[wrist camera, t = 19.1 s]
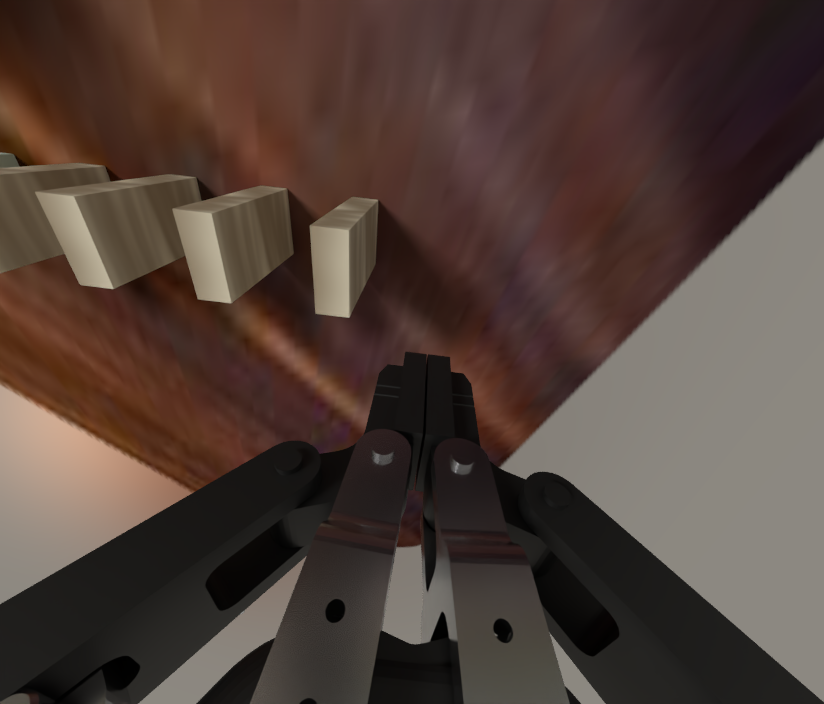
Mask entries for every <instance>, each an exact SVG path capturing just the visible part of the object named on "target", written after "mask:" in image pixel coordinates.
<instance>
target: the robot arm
mask: <svg viewBox="0 0 824 704" xmlns="http://www.w3.org/2000/svg"><path fill="white" fill-rule="evenodd" d="M426 357H427V355H426V354H420V353H412V352H405V358H404V365H403V366H397V365H389V364H388V365H387V366H386V367H385V368H384V369H383V370H382V371H381V372H380V373H379V377H378V381H377V386H376V389H375V394H374V397H373V401H372V405H371V410H370V414H369V418H368V422H367V426H366V430H365V433H364V435H363V436H362V437H361V438H360V439H359V440H358V441H357V443H356V444H354V445H353V446H351V447H349V448H347V449H344V450H340V451H336V452H329V453H323V454H319V452H318V451H317V449H316V448H315V447H313V446H312V445H310V444H309V443H306V442H302V441H288V442H283V443H280V444H278V445H276V446H274V447H272V448H270V449H268V450H267V451H265V452H263V453H261V454H260V455H258V456H256V457H254V458H253V459H251V460H249V461H248V462H246V463H244V464H242V465H241V466H239V467H237V468H235V469H234V470H232V471H230V472H229V473H227V474H225V475H223V476H222V477H220V478H218V479H216V480H215V481H213V482H211V483H209V484H208V485H206V486H204V487H203V488H201V489H199V490H197V491H196V492H194V493H192V494H190V495H189V496H187V497H185V498H183V499H182V500H180V501H178V502H177V503H175V504H173V505H171V506H170V507H168V508H166V509H165V510H163V511H161V512H159V513H158V514H156V515H154V516H152V517H151V518H149V519H147V520H145V521H144V522H142V523H140V524H139V525H137V526H135V527H133V528H132V529H130V530H128V531H126V532H125V533H123V534H121V535H119V536H118V537H116V538H114V539H112V540H111V541H109V542H107V543H106V544H104V545H102V546H100V547H99V548H97V549H95V550H94V551H92V552H90V553H88V554H87V555H85V556H83V557H81V558H80V559H78V560H76V561H74V562H73V563H71V564H69V565H67V566H66V567H64V568H62V569H61V570H59V571H57V572H55V573H54V574H52V575H50V576H49V577H47V578H45V579H43V580H42V581H40V582H38V583H36V584H35V585H33V586H31V587H30V588H28V589H26V590H24V591H22V592H21V593H19V594H17V595H16V596H14V597H12V598H10V599H9V600H7V601H5V602H4V603H2V604H0V704H138V703H139V702H140V701H141V700H143V699H144V698H145V697H146V696H147V695H148V694H149V693H151V692H152V691H153V690H154V689H155V688H156V687H157V686H159V685H160V684H161V683H162V682H163V681H164V680H165V679H167V678H168V677H169V676H170V675H171V674H172V673H173V672H175V671H176V670H177V669H178V668H179V667H180V666H181V665H182V664H184V663H185V662H186V661H187V660H188V659H189V658H190V657H192V656H193V655H194V654H195V653H196V652H197V651H198V650H199V649H201V648H202V647H203V646H204V645H205V644H206V643H208V642H209V641H210V640H211V639H212V638H213V637H214V636H215V635H217V634H218V633H219V632H220V631H221V630H222V629H224V628H225V627H226V626H227V625H228V624H229V623H230V622H232V621H233V620H234V619H235V618H236V617H237V616H238V615H240V614H241V613H242V612H243V611H244V610H245V609H246V608H247V607H248V606H250V605H251V604H252V603H253V602H254V601H256V599H258V598H259V597H260V596H261V595H262V594H263V593H265V592H266V591H267V590H268V589H269V588H270V587H271V586H273V585H274V584H275V583H276V582H277V581H278V580H279V579H280V578H282V577H283V576H284V575H285V574H286V573H287V572H289V571H290V570H291V569H292V568H293V567H294V566H295V565H297V564H298V563H299V562H300V561H301V560H302V559H303V558H305V556H307V557H306V559H305V562H304V565H303V567H302V570H301V573H300V575H299V578H298V580H297V583H296V585H295V588H294V590H293V593H292V596H291V598H290V601H289V603H288V606H287V609H286V612H285V614H284V616H283V619H282V622H281V624H280V627H279V629H278V632H277V635H276V637H275V638H274V639H272V640H270V641H268V642H266V643H264V644H263V645H261V646H259V647H258V648H256V649H255V650H253V651H252V652H251V653H249V654H248V655H247V656H245V657H244V658H243V659H242V660H241V661H239V662H238V663H237V664H236V665H234V666H233V667H232V668H231V669H230V670H229V671H228V672H227V673H226V674H225V675H224V676H223V677H222V678H221V679H220V680H219V681H218V682H217V683H216V684H215V685H214V686H213V687H212V688H211V689H210V690H209V691H208V692H207V694H205V696H203V697H202V699H201V700H200V701H199V702H198V703H197V704H581V703H580V702H579V701H578V700H577V699H576V697H575V696H574V695H573V694H572V693H571V692H570V691H569V690H568V689H567V688H566V687H565V685H564V682H563V679H562V675H561V671H560V668H559V665H558V661H557V658H556V654H555V651H554V647H553V644H552V640H551V637H550V633H551V635H552V636H553V637H554V639H555V640H556V641H557V642H558V644H559V645H560V646H561V647H562V649H563V650H564V651H565V653H566V654H567V655H568V656H569V657H570V659H571V660H572V661H573V663H574V664H575V665H576V667H577V668H578V669H579V670H580V672H581V673H582V674H583V675H584V677H585V678H586V679H587V680H588V682H589V683H590V684H591V686H592V687H593V688H594V689H595V691H596V692H597V693H598V694H599V696H600V697H601V698H602V700H603V701H604V702H605V703H606V704H824V702H823V701H822V700H820V699H819V698H818V697H817V696H816V695H815V694H813V693H812V692H811V691H810V690H809V689H808V688H806V687H805V686H804V685H803V684H802V683H801V682H799V681H798V680H797V679H796V678H795V677H794V676H792V674H790V673H789V672H788V671H787V670H786V669H785V668H784V667H782V666H781V665H780V664H779V663H778V662H777V661H775V660H774V659H773V658H772V657H771V656H770V655H768V654H767V653H766V652H765V651H764V650H762V648H760V647H759V646H758V645H757V644H756V643H755V642H754V641H752V640H751V639H750V638H749V637H748V636H747V635H745V634H744V633H743V632H742V631H741V630H740V629H738V628H737V627H736V626H735V625H734V624H733V623H732V622H730V621H729V620H728V619H727V618H726V617H725V616H724V615H722V614H721V613H720V612H719V611H718V610H717V609H716V608H714V607H713V606H712V605H711V604H710V603H709V602H707V601H706V600H705V599H704V598H703V597H701V596H700V595H699V594H698V593H697V592H696V591H695V590H694V589H692V588H691V587H690V586H689V585H688V584H687V583H686V582H684V581H683V580H682V579H681V578H680V577H678V576H677V575H676V574H675V573H674V572H673V571H672V570H670V569H669V568H668V567H667V566H666V565H665V564H664V563H662V562H661V561H660V560H659V559H658V558H657V557H656V556H654V555H653V554H652V553H651V552H650V551H649V550H647V549H646V548H645V547H644V546H643V545H642V544H641V543H639V542H638V541H637V540H636V539H635V538H634V537H632V536H631V535H630V534H629V533H628V532H627V531H626V530H624V529H623V528H622V527H621V526H620V525H619V524H618V523H616V522H615V521H614V520H613V519H612V518H611V517H609V516H608V515H607V514H606V513H605V512H604V511H603V510H601V509H600V508H599V507H598V506H597V505H595V504H594V503H593V502H592V501H591V500H590V499H589V498H588V497H586V496H585V495H584V494H583V493H582V492H581V491H580V490H578V489H577V488H576V487H575V486H574V485H573V484H571V483H570V482H569V481H567V480H566V479H564V478H563V477H561V476H559V475H556V474H553V473H549V472H537V473H534V474H532V475H530V476H529V477H528V478H527V479H526V480H525V479H523V478H520V477H518V476H516V475H513V474H511V473H508V472H506V471H504V470H502V469H500V468H498V467H497V466H495V465H494V464H493V463H491V462H490V461H489V458H488V456H487V454H486V453H485V451H484V450H483V449H482V448H481V446H480V442H479V435H478V428H477V421H476V414H475V407H474V400H473V393H472V387H471V383H470V382H469V381H468V379H467V378H466V376H465V375H464V374H463V373H454V372H451V368H450V357H445V356H437V355H429V354H428V357H427V363H426ZM415 476H416V487H415V491H423V508H422V513H421V519H420V522H421V550H422V579H423V606H422V620H421V644H416V645H414V644H409V643H407V642H405V641H403V640H400V639H398V638H396V637H394V636H392V635H390V634H388V633H386V632H384V631H382V628H383V622H384V617H385V610H386V604H387V598H388V593H389V587H390V581H391V575H392V569H393V563H394V557H395V551H396V546H397V540H398V534H399V528H400V522H401V517H402V515H403V513H404V511H405V506H406V500H407V494H408V490H413V487H414V482H415ZM549 632H550V633H549Z"/></svg>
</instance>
